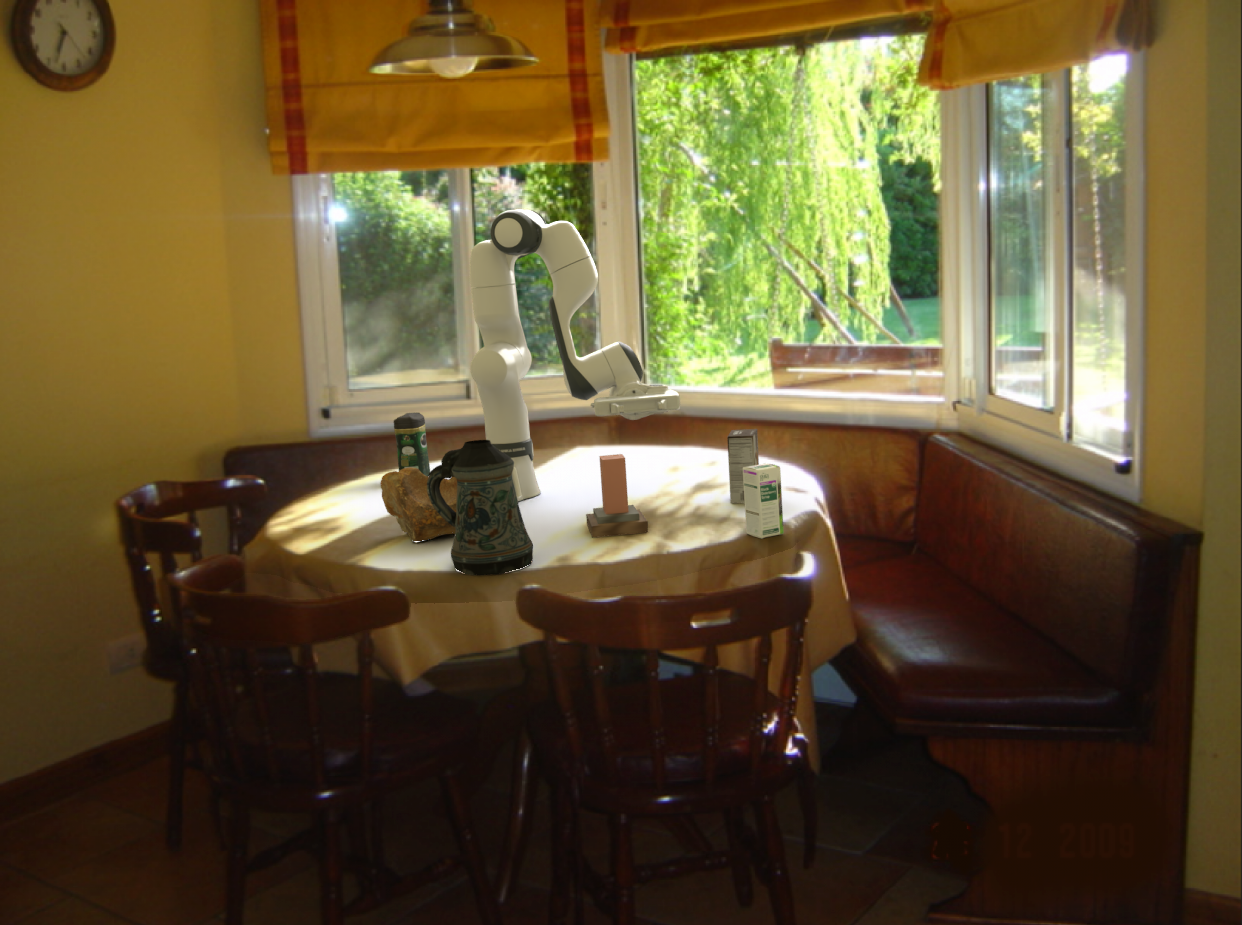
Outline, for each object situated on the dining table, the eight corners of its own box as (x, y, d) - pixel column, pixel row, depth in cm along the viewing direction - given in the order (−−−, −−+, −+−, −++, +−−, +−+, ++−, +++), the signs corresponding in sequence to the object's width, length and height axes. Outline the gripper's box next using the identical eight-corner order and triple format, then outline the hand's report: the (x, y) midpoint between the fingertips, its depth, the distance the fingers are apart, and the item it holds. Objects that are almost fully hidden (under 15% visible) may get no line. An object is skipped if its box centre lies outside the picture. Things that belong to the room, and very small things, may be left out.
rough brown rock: (374, 553, 257) (368, 486, 253) (387, 528, 273) (382, 465, 269) (482, 549, 257) (478, 483, 253) (488, 524, 273) (485, 462, 269)
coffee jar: (407, 475, 338) (400, 411, 335) (433, 475, 337) (427, 410, 334) (395, 483, 329) (388, 416, 325) (422, 482, 328) (416, 415, 324)
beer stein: (542, 569, 232) (532, 443, 228) (443, 583, 227) (431, 454, 222) (524, 549, 248) (515, 431, 243) (431, 562, 243) (420, 441, 238)
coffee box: (734, 495, 287) (731, 429, 284) (760, 494, 285) (757, 428, 282) (729, 503, 278) (726, 435, 275) (757, 503, 277) (754, 435, 274)
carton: (605, 514, 257) (602, 459, 255) (603, 509, 262) (599, 455, 260) (628, 512, 258) (625, 457, 256) (625, 507, 263) (622, 454, 261)
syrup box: (761, 539, 244) (758, 469, 242) (745, 533, 249) (742, 465, 247) (784, 534, 247) (781, 465, 244) (767, 529, 252) (764, 462, 249)
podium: (592, 537, 254) (591, 519, 253) (586, 524, 266) (585, 507, 265) (648, 532, 256) (646, 514, 255) (639, 520, 267) (638, 502, 267)
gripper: (588, 391, 283) (595, 398, 270) (673, 384, 286) (683, 391, 272) (590, 417, 285) (596, 425, 271) (674, 410, 287) (685, 418, 273)
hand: (641, 408), depth 272 cm, fingers open, 8 cm apart
